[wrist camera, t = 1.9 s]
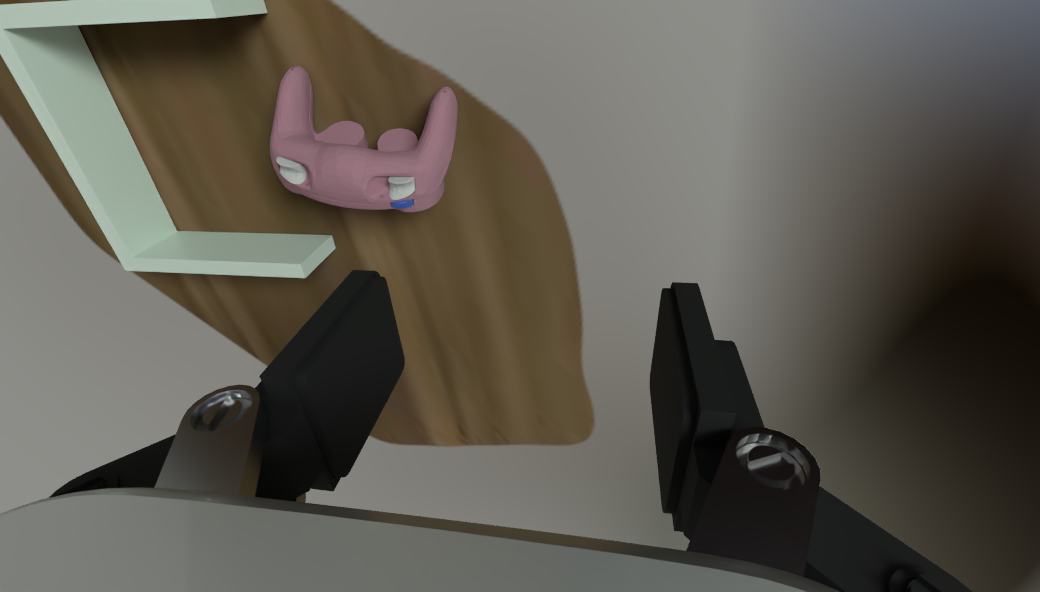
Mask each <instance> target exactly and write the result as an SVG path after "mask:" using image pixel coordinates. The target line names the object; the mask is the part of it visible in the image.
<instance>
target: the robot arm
mask: <svg viewBox="0 0 1040 592" xmlns="http://www.w3.org/2000/svg"><path fill="white" fill-rule="evenodd" d="M404 363H405V359H404V354H403V350H402V345H401V341H400V337H399V333H398V328H397V324H396V320H395V315H394V311H393V307H392V303H391V298H390V294H389V290H388V286H387V282H386V279H385V278H384V277H380V275H379V273H378V272H377V271H366V270H353V271H352V272H351V273H350V274H349V275H348V276H347V277H346V279H345V280H344V281H343V282H342V283H341V284H340V285H339V286H338V288H337V289H336V290H335V291H334V292H333V293H332V294H331V296H330V297H329V298H328V299H327V300H326V301H325V302H324V303H323V305H322V306H321V307H320V308H319V309H318V310H317V311H316V313H315V314H314V315H313V316H312V317H311V318H310V319H309V320H308V322H307V323H306V324H305V325H304V326H303V327H302V328H301V330H300V331H299V332H298V333H297V334H296V335H295V336H294V337H293V339H292V340H291V341H290V342H289V343H288V344H287V345H286V347H285V348H284V349H283V350H282V351H281V352H280V353H279V354H278V356H277V357H276V358H275V359H274V360H273V361H272V362H271V364H270V365H269V366H268V367H267V368H266V369H265V370H264V372H263V373H262V374H261V375H260V378H261V380H262V381H261V382H260V383H259V385H258V386H257V387H256V388H253V387H251V386H247V385H234V386H228V387H225V388H222V389H218V390H216V391H214V392H212V393H209V394H207V395H205V396H204V397H202V398H201V399H200V400H198V401H197V402H195V403H194V404H193V405H192V406H191V407H190V408H189V409H188V410H187V412H186V413H185V415H184V417H183V419H182V421H181V423H180V425H179V428H178V431H177V433H176V434H175V435H173V436H171V437H168V438H166V439H164V440H161V441H159V442H157V443H154V444H152V445H150V446H148V447H145V448H143V449H141V450H138V451H136V452H134V453H131V454H129V455H126V456H124V457H122V458H119V459H117V460H115V461H112V462H110V463H108V464H105V465H103V466H101V467H98V468H96V469H94V470H91V471H89V472H87V473H85V474H83V475H81V476H79V477H77V478H75V479H73V480H71V481H69V482H68V483H67V484H65V485H64V486H62V487H61V488H59V489H58V490H57V491H56V492H54V493H53V494H52V495H51V496H50V497H49V498H47V499H42V500H39V501H36V502H32V503H29V504H26V505H23V506H20V507H17V508H15V509H12V510H9V511H6V512H4V513H1V514H0V592H972V591H971V590H969V589H968V588H967V587H966V586H964V585H963V584H962V583H961V582H959V581H958V580H957V579H956V578H954V577H953V576H952V575H950V574H949V573H947V572H946V571H944V570H943V569H941V568H940V567H938V566H937V565H935V564H934V563H932V562H931V561H929V560H928V559H926V558H925V557H923V556H922V555H921V554H919V553H917V552H916V551H915V550H913V549H912V548H910V547H909V546H907V545H905V544H904V543H903V542H901V541H900V540H898V539H897V538H895V537H894V536H892V535H891V534H889V533H888V532H887V531H885V530H884V529H882V528H881V527H879V526H878V525H876V524H875V523H873V522H872V521H870V520H869V519H867V518H866V517H864V516H863V515H861V514H860V513H858V512H857V511H855V510H854V509H853V508H851V507H850V506H848V505H847V504H845V503H844V502H842V501H841V500H839V499H838V498H836V497H835V496H833V495H832V494H830V493H829V492H827V491H826V490H824V489H823V488H821V487H820V481H821V476H820V468H819V465H818V463H817V461H816V459H815V457H814V456H813V455H812V454H811V453H810V451H809V450H808V449H807V448H806V447H805V446H804V445H802V444H801V443H800V442H798V441H797V440H796V439H794V438H793V437H790V436H788V435H786V434H784V433H782V432H780V431H776V430H773V429H769V428H765V427H764V425H763V422H762V419H761V416H760V413H759V410H758V408H757V405H756V402H755V399H754V396H753V393H752V390H751V388H750V385H749V382H748V379H747V376H746V373H745V370H744V367H743V364H742V362H741V359H740V356H739V353H738V350H737V347H736V345H735V343H734V342H732V341H723V340H722V341H721V340H715V339H714V336H713V333H712V329H711V326H710V322H709V319H708V316H707V312H706V309H705V306H704V302H703V299H702V296H701V292H700V289H699V286H698V284H697V283H672V284H671V288H663V289H662V293H661V299H660V307H659V314H658V321H657V329H656V336H655V344H654V350H653V358H652V365H651V372H650V394H651V404H652V414H653V424H654V434H655V444H656V454H657V463H658V473H659V483H660V492H661V503H662V510H663V513H671V514H672V517H673V526H674V531H680V532H684V535H685V536H686V537H687V538H688V539H689V540H690V542H689V544H688V547H687V549H686V551H683V550H676V549H669V548H661V547H655V546H648V545H640V544H634V543H627V542H620V541H613V540H605V539H596V538H588V537H581V536H573V535H565V534H557V533H549V532H541V531H534V530H526V529H518V528H510V527H502V526H494V525H485V524H478V523H470V522H461V521H453V520H445V519H437V518H429V517H421V516H412V515H404V514H396V513H387V512H379V511H370V510H362V509H354V508H346V507H336V506H328V505H319V504H311V503H305V499H306V494H305V493H306V492H308V491H309V490H310V488H312V489H319V490H327V491H334V489H335V487H336V485H337V484H338V482H339V480H340V478H341V477H346V476H347V475H348V474H349V472H350V470H351V468H352V467H353V465H354V463H355V461H356V459H357V457H358V455H359V453H360V451H361V449H362V448H363V446H364V444H365V442H366V440H367V438H368V436H369V434H370V432H371V430H372V429H373V427H374V425H375V423H376V421H377V419H378V417H379V415H380V413H381V411H382V410H383V408H384V406H385V404H386V402H387V400H388V398H389V396H390V394H391V392H392V391H393V389H394V387H395V385H396V383H397V381H398V379H399V377H400V375H401V373H402V371H403V369H404Z"/></svg>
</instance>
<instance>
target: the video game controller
mask: <svg viewBox="0 0 1040 592" xmlns="http://www.w3.org/2000/svg"><path fill="white" fill-rule="evenodd" d="M313 107H314V99H313V90H312V84H311V81H310V77H309V74H308V73H307V72H306V71H305V70H304V69H303V68H302V67H299V66H295V67H293V68H291V69H289V70H288V71H287V72H286V73H285V75H284V77H283V78H282V81H281V83H280V86H279V91H278V96H277V102H276V108H275V115H274V121H273V126H272V132H271V138H270V155H271V160H272V164H273V168H274V170H275V172H276V174H277V175H278V177H279V179H280V180H281V182H282V184H283V185H284V186H285V187H286V188H287V189H288V190H290V191H292V192H293V193H297V194H303V195H305V196H306V197H309V198H311V199H314V200H316V201H319V202H323V203H327V204H330V205H334V206H339V207H345V208H353V209H365V210H384V209H397V210H400V211H403V212H418V211H423V210H426V209H428V208H430V207H432V206H433V205H435V204H436V203H437V202H438V201H439V199H440V198H441V196H442V194H443V191H444V177H445V175H446V173H447V171H448V167H449V164H450V161H451V157H452V153H453V147H454V142H455V136H456V128H457V99H456V97H455V95H454V93H453V91H452V90H451V89H450V88H449V87H443V88H441V89H440V90H439V91H438V92H437V93H436V95H435V96H434V98H433V100H432V102H431V104H430V108H429V112H428V115H427V119H426V123H425V126H424V129H423V132H422V134H421V137H420V139H419V141H418V140H417V137H416V135H415V133H413V132H412V131H410V130H408V129H401V128H399V129H392V130H389V131H387V132H385V133H383V134H382V135H381V136H380V138H379V140H378V143H377V145H378V150H373V149H368V148H367V147H368V144H367V140H366V136H365V132H364V130H363V127H362V126H361V125H359V124H358V123H355V122H352V121H340V122H337V123H334V124H333V125H331V126H330V127H328V128H327V129H326V130H324V131H323V132H321V133H320V134H316V132H315V129H314V124H313Z"/></svg>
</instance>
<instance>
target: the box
mask: <svg viewBox="0 0 1040 592" xmlns="http://www.w3.org/2000/svg"><path fill="white" fill-rule="evenodd" d="M263 13H267V10H266V6H265V3H264V0H72V1H56V2H39V3H23V4H6V5H0V54H1V56H2V58H3V59H4V61H5V63H6V64H7V66H8V68H9V70H10V71H11V73H12V75H13V77H14V78H15V80H16V82H17V84H18V85H19V87H20V89H21V90H22V92H23V94H24V96H25V97H26V99H27V101H28V103H29V104H30V106H31V108H32V110H33V111H34V113H35V115H36V116H37V118H38V120H39V122H40V123H41V125H42V127H43V129H44V130H45V132H46V134H47V136H48V137H49V139H50V141H51V142H52V144H53V146H54V148H55V149H56V151H57V153H58V155H59V156H60V158H61V160H62V162H63V163H64V165H65V167H66V168H67V170H68V172H69V174H70V175H71V177H72V179H73V181H74V182H75V184H76V186H77V188H78V189H79V191H80V193H81V194H82V196H83V198H84V200H85V201H86V203H87V205H88V207H89V208H90V210H91V212H92V214H93V215H94V217H95V219H96V220H97V222H98V224H99V226H100V227H101V229H102V231H103V233H104V234H105V236H106V238H107V240H108V241H109V243H110V245H111V246H112V248H113V250H114V252H115V253H116V255H117V257H118V259H119V260H120V262H121V264H122V266H123V267H124V269H125V271H146V272H170V273H194V274H218V275H242V276H266V277H289V278H306V277H307V276H308V275H309V274H310V273H311V272H312V271H313V270H314V269H315V268H316V267H317V266H318V265H319V264H320V263H321V262H322V261H323V260H324V259H325V258H326V257H327V256H328V255H329V254H330V253H331V252H332V251H333V250H334V249H336V248H335V244H334V241H333V237H332V235H306V234H268V233H231V232H193V231H177V230H176V228H175V226H174V224H173V222H172V220H171V218H170V216H169V214H168V212H167V209H166V207H165V205H164V203H163V201H162V199H161V197H160V195H159V193H158V191H157V189H156V187H155V185H154V183H153V180H152V178H151V176H150V174H149V172H148V170H147V168H146V166H145V164H144V162H143V160H142V158H141V156H140V154H139V152H138V149H137V147H136V145H135V143H134V141H133V139H132V137H131V135H130V133H129V131H128V129H127V127H126V125H125V123H124V120H123V118H122V116H121V114H120V112H119V110H118V108H117V106H116V104H115V102H114V100H113V98H112V96H111V94H110V92H109V89H108V87H107V85H106V83H105V81H104V79H103V77H102V75H101V73H100V71H99V69H98V67H97V65H96V63H95V61H94V58H93V56H92V54H91V52H90V50H89V48H88V46H87V44H86V42H85V40H84V38H83V36H82V34H81V32H80V29H79V27H78V25H89V24H109V23H129V22H148V21H168V20H188V19H207V18H222V17H232V16H243V15H253V14H263Z"/></svg>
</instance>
